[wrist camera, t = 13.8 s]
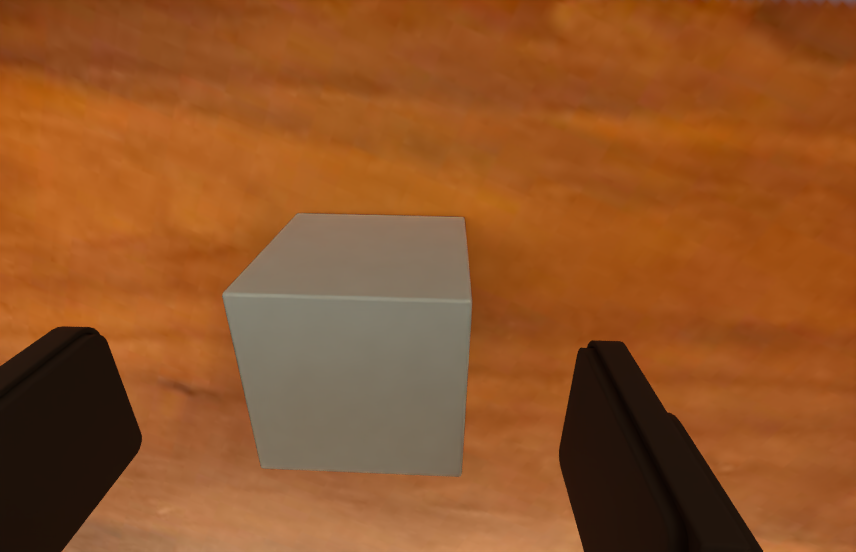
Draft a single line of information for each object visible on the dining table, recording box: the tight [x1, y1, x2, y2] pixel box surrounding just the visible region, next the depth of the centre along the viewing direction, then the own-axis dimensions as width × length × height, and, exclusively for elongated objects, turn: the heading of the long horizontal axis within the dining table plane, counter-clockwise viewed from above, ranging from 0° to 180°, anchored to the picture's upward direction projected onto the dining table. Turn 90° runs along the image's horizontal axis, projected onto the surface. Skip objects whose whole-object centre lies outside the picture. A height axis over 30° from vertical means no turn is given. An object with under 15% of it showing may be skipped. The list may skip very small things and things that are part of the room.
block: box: [222, 213, 472, 477], centre depth 11 cm, size 4×4×4 cm
